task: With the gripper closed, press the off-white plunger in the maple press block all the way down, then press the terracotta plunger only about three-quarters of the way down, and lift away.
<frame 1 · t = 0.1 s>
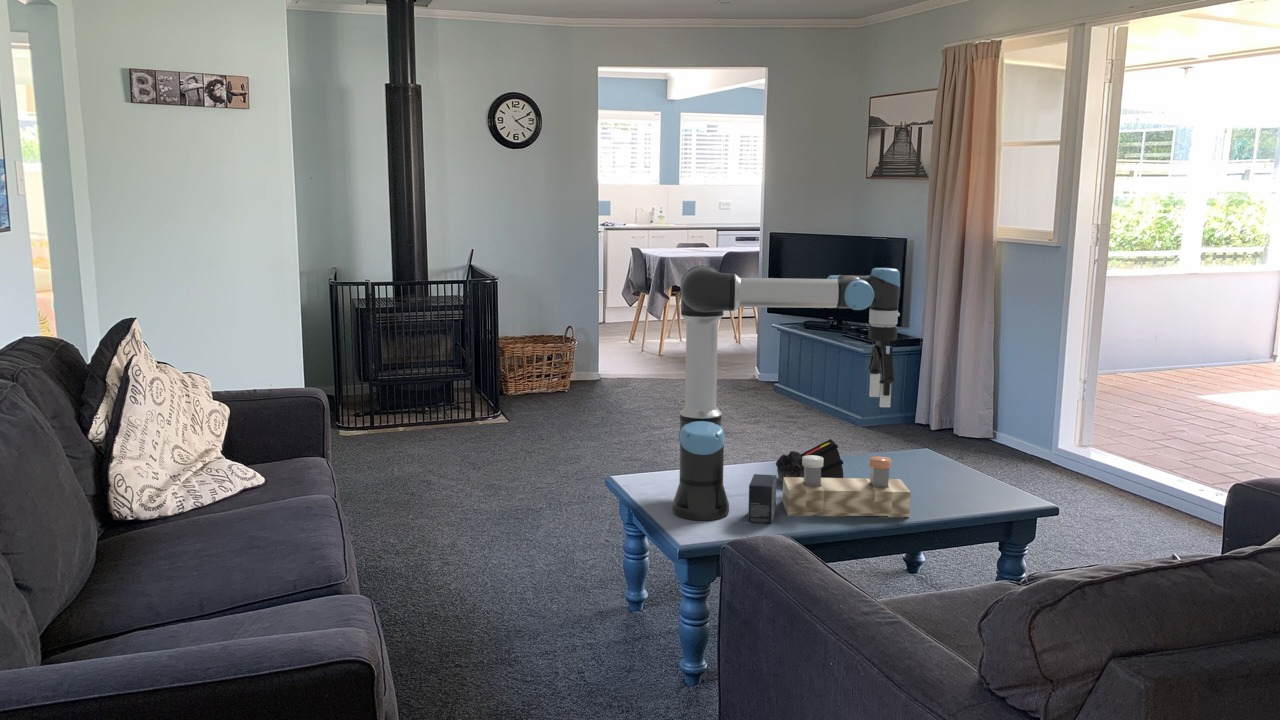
hand: (879, 401, 267), 28 cm above the table, tool pointing down, fingers open, 13 cm apart
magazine: (820, 492, 279), on the table
black rock: (798, 481, 290), on the table
small box: (761, 518, 255), on the table
press block: (844, 509, 263), on the table
pale plunger: (812, 471, 261), point 10 cm above the table, slide at 0.0 cm
terracotta plunger: (879, 472, 261), point 10 cm above the table, slide at 0.0 cm
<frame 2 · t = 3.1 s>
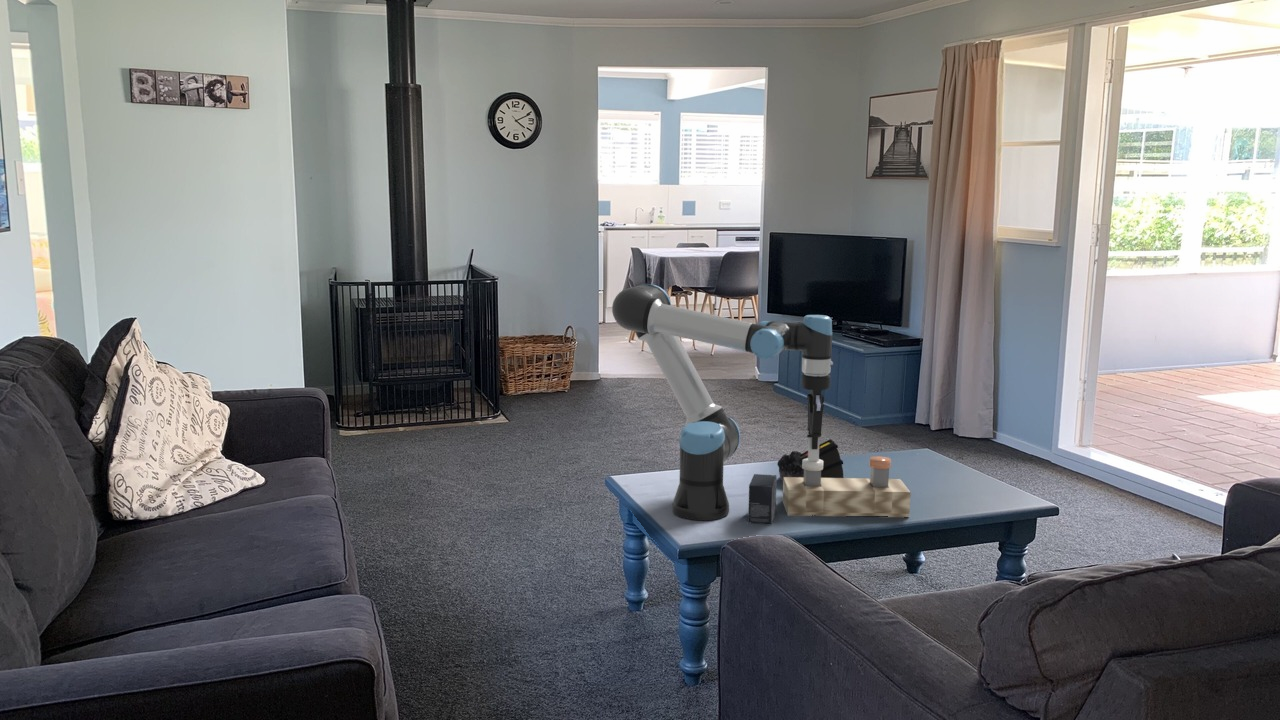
hand: (813, 459, 261), 14 cm above the table, tool pointing down, fingers closed
pale plunger: (812, 474, 261), point 10 cm above the table, slide at 0.8 cm, touching gripper
everything else where it was.
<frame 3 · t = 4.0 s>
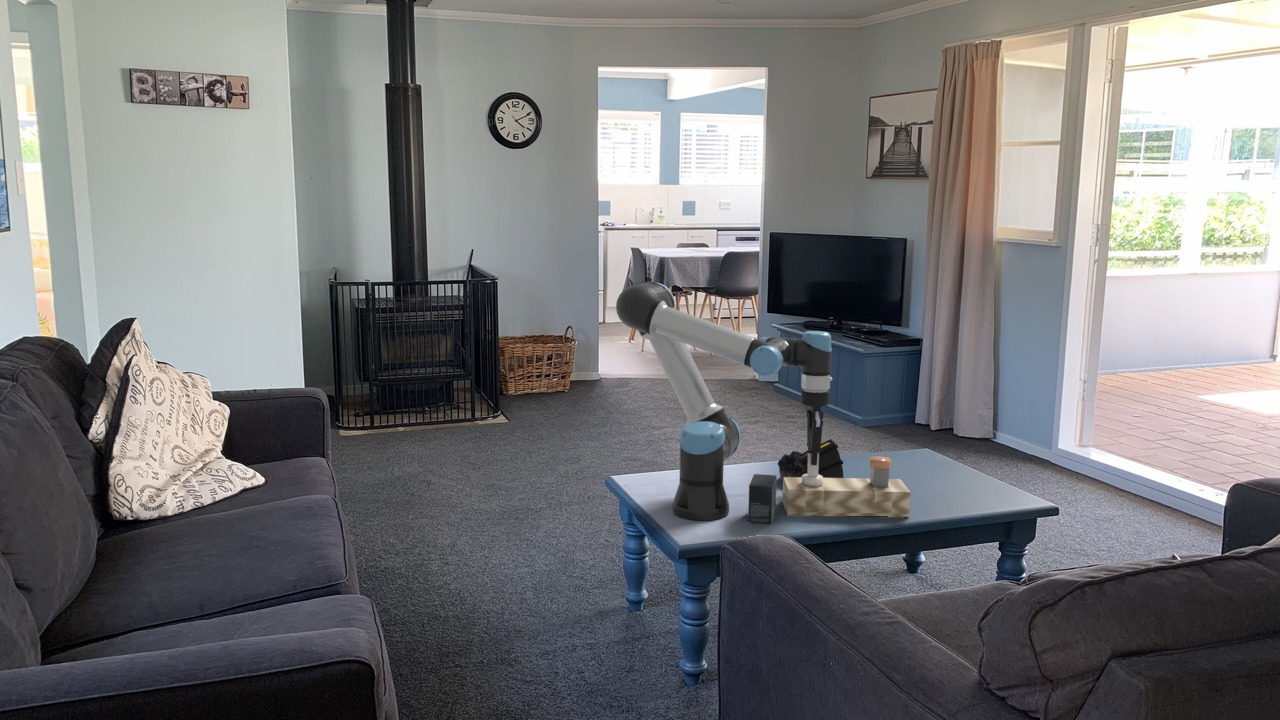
hand: (812, 475, 261), 9 cm above the table, tool pointing down, fingers closed
pale plunger: (811, 489, 262), point 5 cm above the table, slide at 5.1 cm, touching gripper
everything else where it was.
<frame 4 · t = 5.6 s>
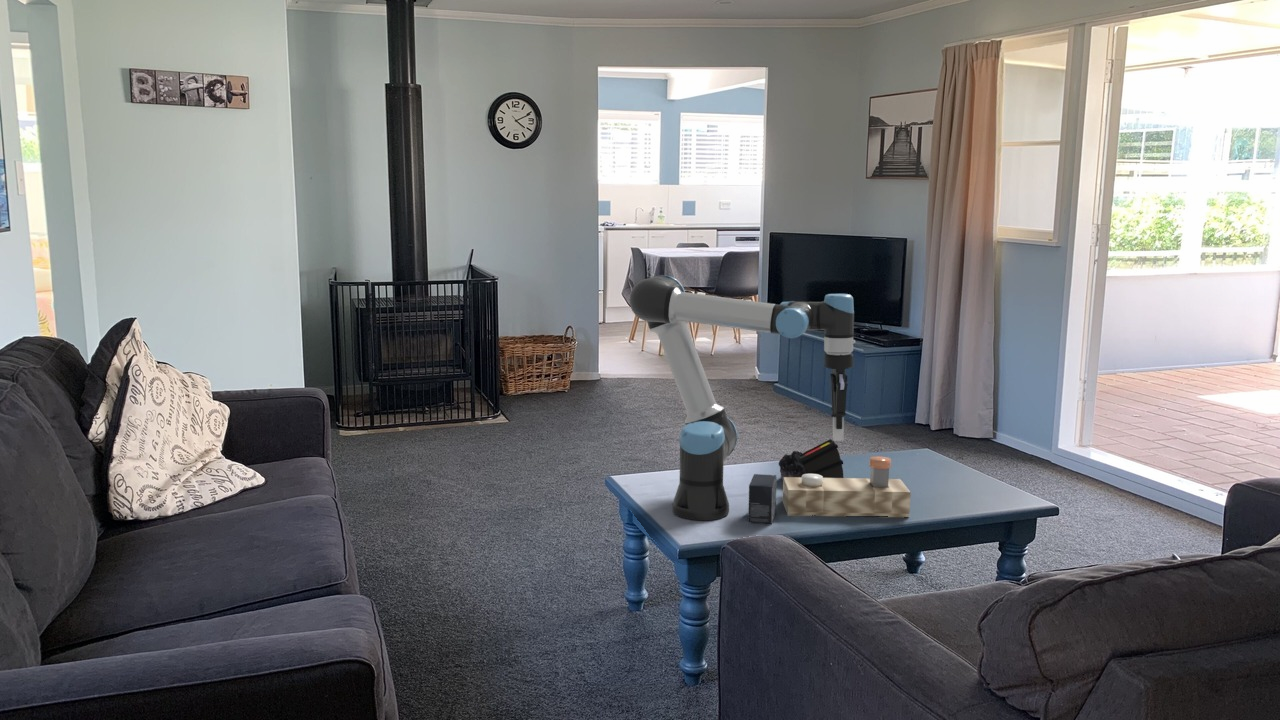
hand: (838, 439, 259), 19 cm above the table, tool pointing down, fingers closed
pale plunger: (811, 489, 262), point 5 cm above the table, slide at 5.1 cm
everything else where it was.
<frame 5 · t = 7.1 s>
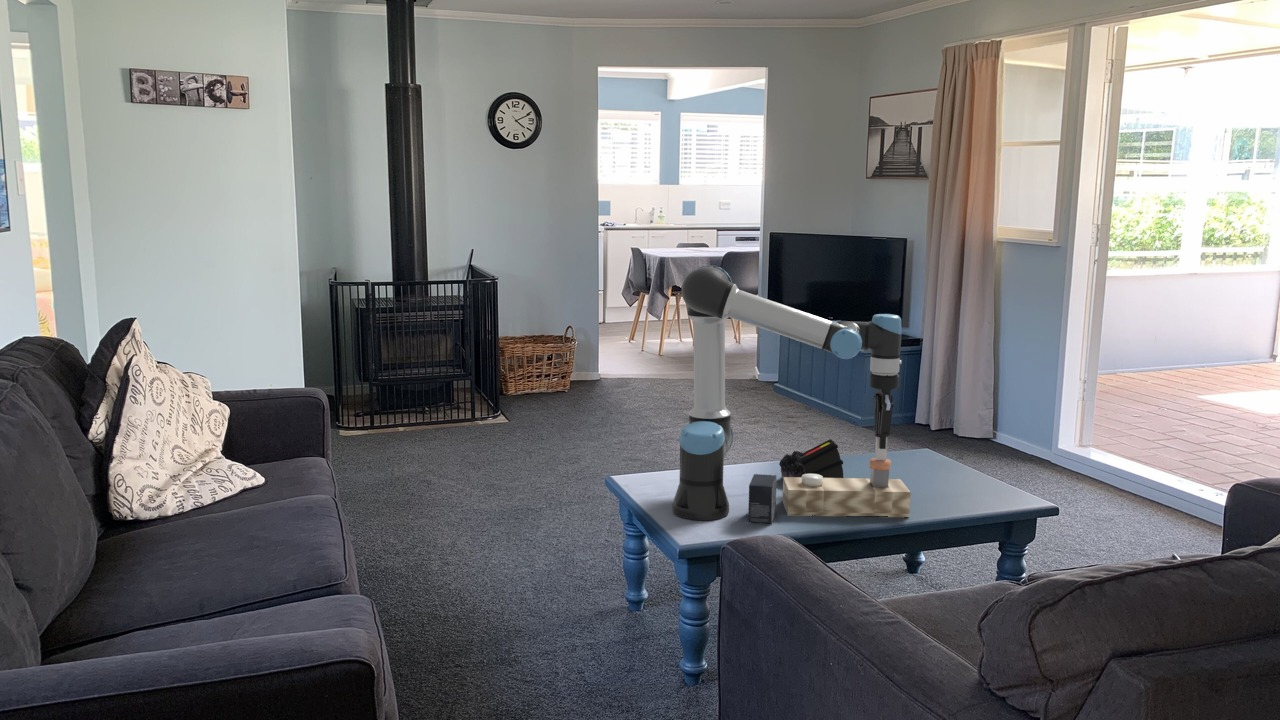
hand: (880, 459, 260), 14 cm above the table, tool pointing down, fingers closed
terracotta plunger: (879, 473, 261), point 10 cm above the table, slide at 0.4 cm, touching gripper
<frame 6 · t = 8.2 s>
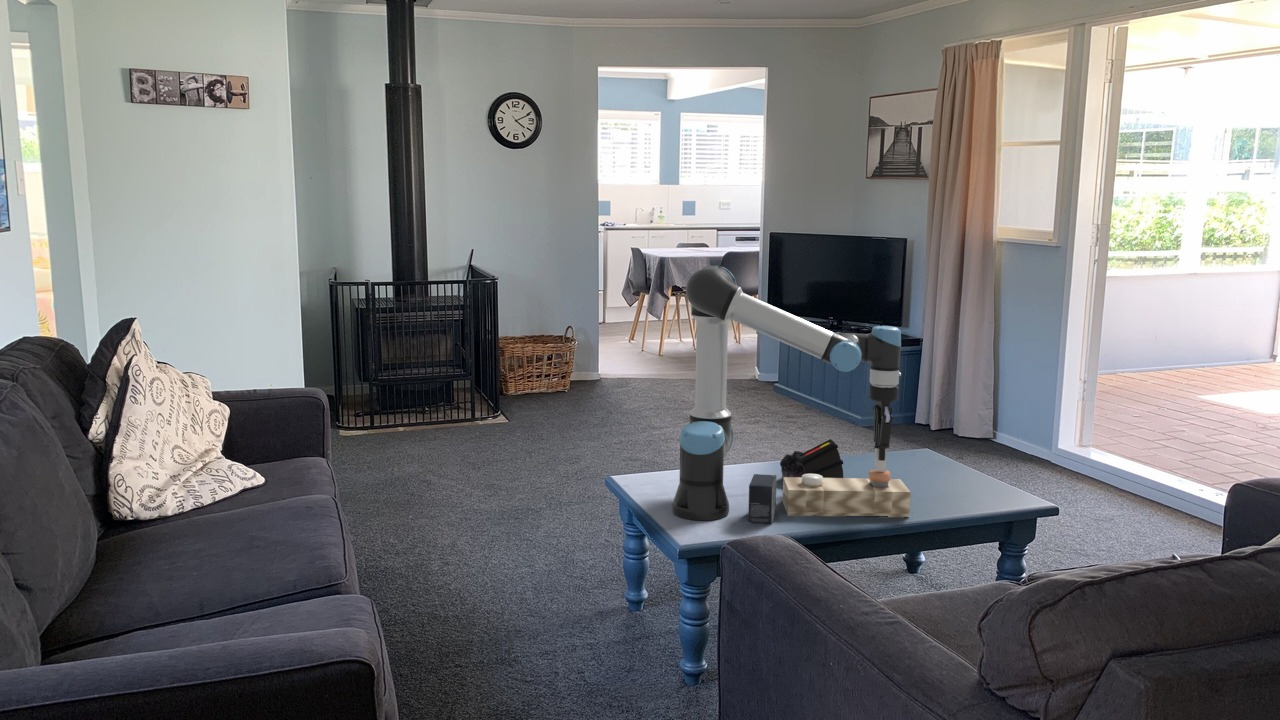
hand: (879, 470, 261), 11 cm above the table, tool pointing down, fingers closed
terracotta plunger: (879, 485, 261), point 7 cm above the table, slide at 3.5 cm, touching gripper
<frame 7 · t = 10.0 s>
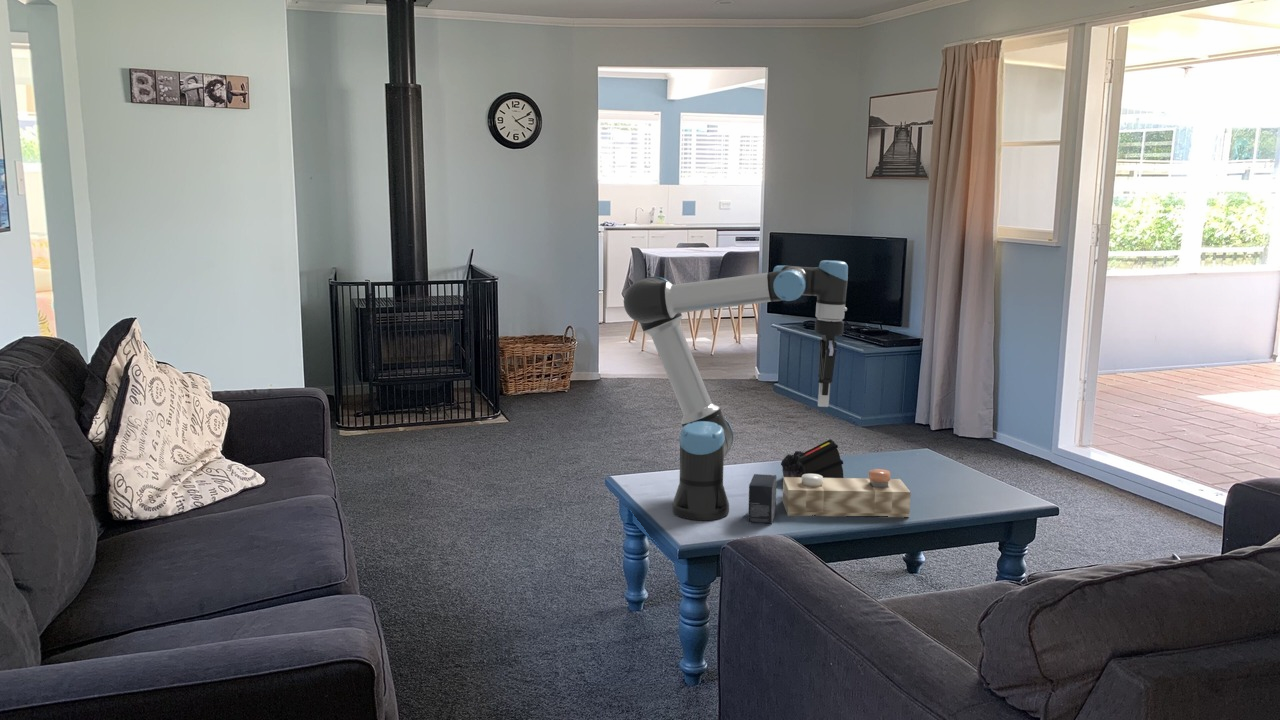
hand: (823, 406, 261), 28 cm above the table, tool pointing down, fingers closed
terracotta plunger: (879, 485, 261), point 7 cm above the table, slide at 3.5 cm
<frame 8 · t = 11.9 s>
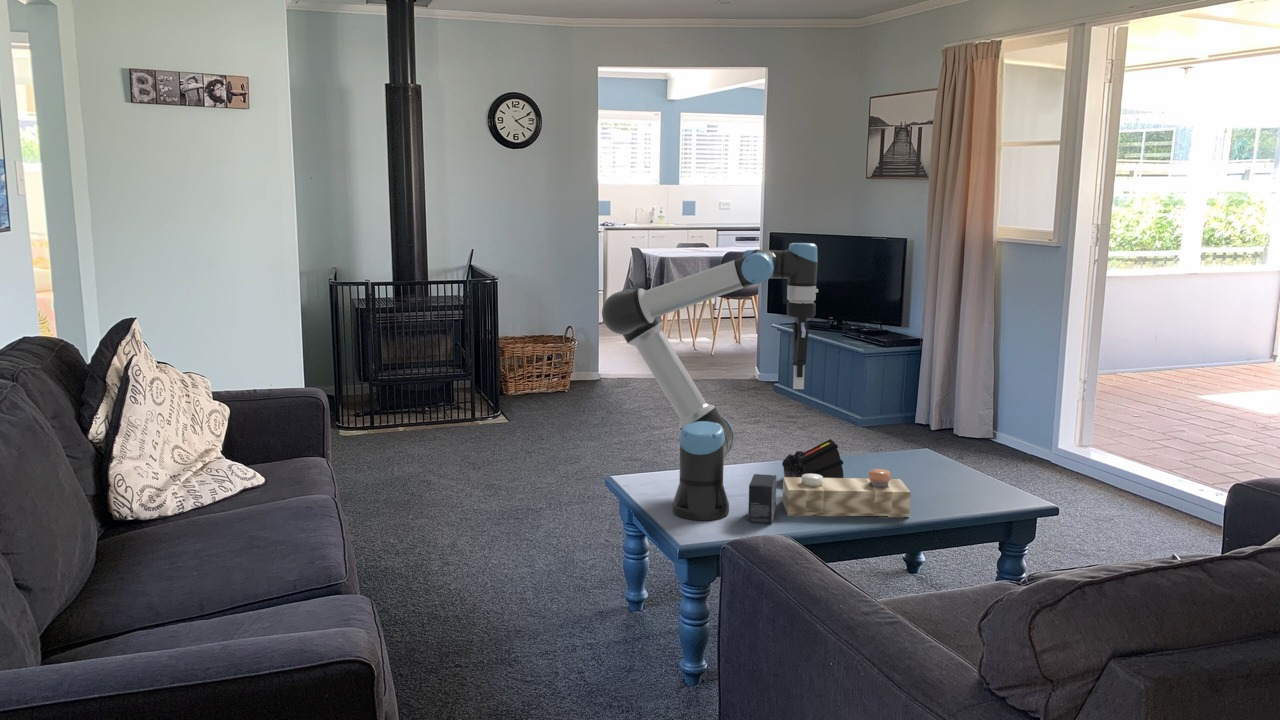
hand: (798, 388, 262), 32 cm above the table, tool pointing down, fingers closed
at the end: pale plunger slide at 5.1 cm; terracotta plunger slide at 3.5 cm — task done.
